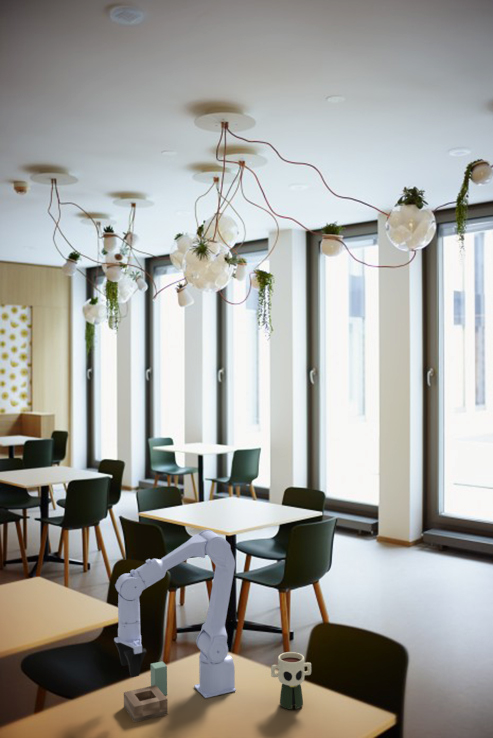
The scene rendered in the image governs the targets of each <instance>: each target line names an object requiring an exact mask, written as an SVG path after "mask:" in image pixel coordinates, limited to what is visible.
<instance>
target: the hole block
mask: <svg viewBox="0 0 493 738" xmlns="http://www.w3.org/2000/svg"><path fill="white" fill-rule="evenodd" d="M168 703H169V701H168V698H167V697H166V695H164V694H163V693H162V692H161V691H160V690H159V688H158V687H157V686H156V685H154V686H151V685H150V686H145V687H141V688H137V689H132V690H129V691H128V690H127V691H124V692H123V708H124V710H125V711H126V712H127V714H128V715H129V717H130V718H131V719H132V721H133V722H134V723H138V722H141V721H145V720H149V719H154V718H157V717H161V716H166V715H168V711H169V710H168V708H169V707H168Z"/></svg>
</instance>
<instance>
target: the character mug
mask: <svg viewBox="0 0 493 738" xmlns="http://www.w3.org/2000/svg"><path fill="white" fill-rule="evenodd" d="M305 667H307V670H306V671H305ZM275 669H277V673H276V670H275ZM311 674H312V663H311V662H305V656H304V655H303V654H302V653H299V652H294V651H287V652H283V653H281V654H279V655H278V657H277V664H272V665H270V675H271V678H277V679H278V682H280V683H281V688H280V696H279V697H280V698H279V705H280V706H281V707H282V708H285V709H287V710H288V709H289V710H292V709H293V706H294V708H295V709H297V710H298V709H300V708H301V707H303V705H304V699H303V691H302V685H301V684H302V683H304V681H305V676H310V675H311Z"/></svg>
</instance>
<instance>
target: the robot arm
mask: <svg viewBox="0 0 493 738" xmlns="http://www.w3.org/2000/svg"><path fill="white" fill-rule="evenodd" d="M206 556H207V557H209V558H210V559H209V560H210V561H211V562H212V563H213V564H214V565H215V568H214V575H213V580H212V586H211V591H210V598H209V602H208V603H209V604H208V610H207V616H206V620H205V622H204V623H203V624H201V630H200V632H199V634H198V635H197V637H196V647H197V648H198V649H199V650H200V654H199V655H198V656H199V658H198V659H199V663H198V666H199V676H198V677H199V683H197V684H194V688H195V689H196V690H197V691H198V692H199V693H200V695H202V696H203V698H205V699H208V698H212V697H216V696H219V695H224V694H228V693H233V692H236V691H237V690H236V688H235V686H236V682H235V677H236V676H235V671H236V670H235V663H234V659H233V657H232V656H231V655H230V654H229V653H228V652H229V647H228V646H229V645H228V643H227V642H228V633H227V631H226V620H227V615H228V608H229V603H230V597H231V591H232V585H233V579H234V574H235V568H236V560H235V557H234V554H233V552H232V549H231V544H230V543H229V542H228V541H227V540H226V539H225V538H224V537H222V536H221V535H219V534H217V533H216V532H215V531H213V530H211V529H203V530H201V531H200V532H199V533H196V534H194V535H193V536H191V537H190V538H189V539H188V540H187V541H185V542H184V543H182V544H181V545H180V546H178V547H177V548H175V549H174V550H172V551H171V552H169V553H168V554H166V555H165V556H163V557H161V559H160V558H159V559H158V558H152V559H150V558H148V559H146V560H145V563H144V564H142V565H141V566H139V567H137V568H136V569H131V570H130V571H129V572H130V573H129V572H128V573H123V574H121V575H120V576H118V579H116V582H115V584H114V587H115V590H116V591H117V593H118V594H117V595H118V601H117V602H118V603H117V615H118V616H117V618H118V628H117V637H114V638H113V642H114V644H115V646H116V648H117V651H118V655H119V660H120V664H121V666H122V667H125V666H128V670H129V671H128V672H129V675H130V677H131V678H134V677H135V678H136V677H139V676H140V672H141V667H142V664H143V661H144V658H145V656H146V654H147V649H146V648H143V645H142V635H141V634H142V633H141V606H140V605H141V603H140V596H141V595H142V592H143V591H144V590H146V589H147V588H149V587H151V586H152V585H154V584H156V583H157V582H159V581H161V580H162V579H163V578H165V576H166V573H167V571H168V570H170V569H172V568H173V567H176V566H178V565H179V564H182V563H183V562H185V561H187V560H188V559H190V558H192V557H195V558H200V559H201V558H202V559H205V558H206Z"/></svg>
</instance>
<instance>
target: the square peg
mask: <svg viewBox="0 0 493 738" xmlns="http://www.w3.org/2000/svg"><path fill="white" fill-rule="evenodd" d="M154 685H156V686H157V687H158V688H159V690H160V691H161V692H162V693H163V694H164V695H165V696H167V695H168V666H167V665H166V663H165V662H164V661H158V662H153V663H150V686H154Z"/></svg>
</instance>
